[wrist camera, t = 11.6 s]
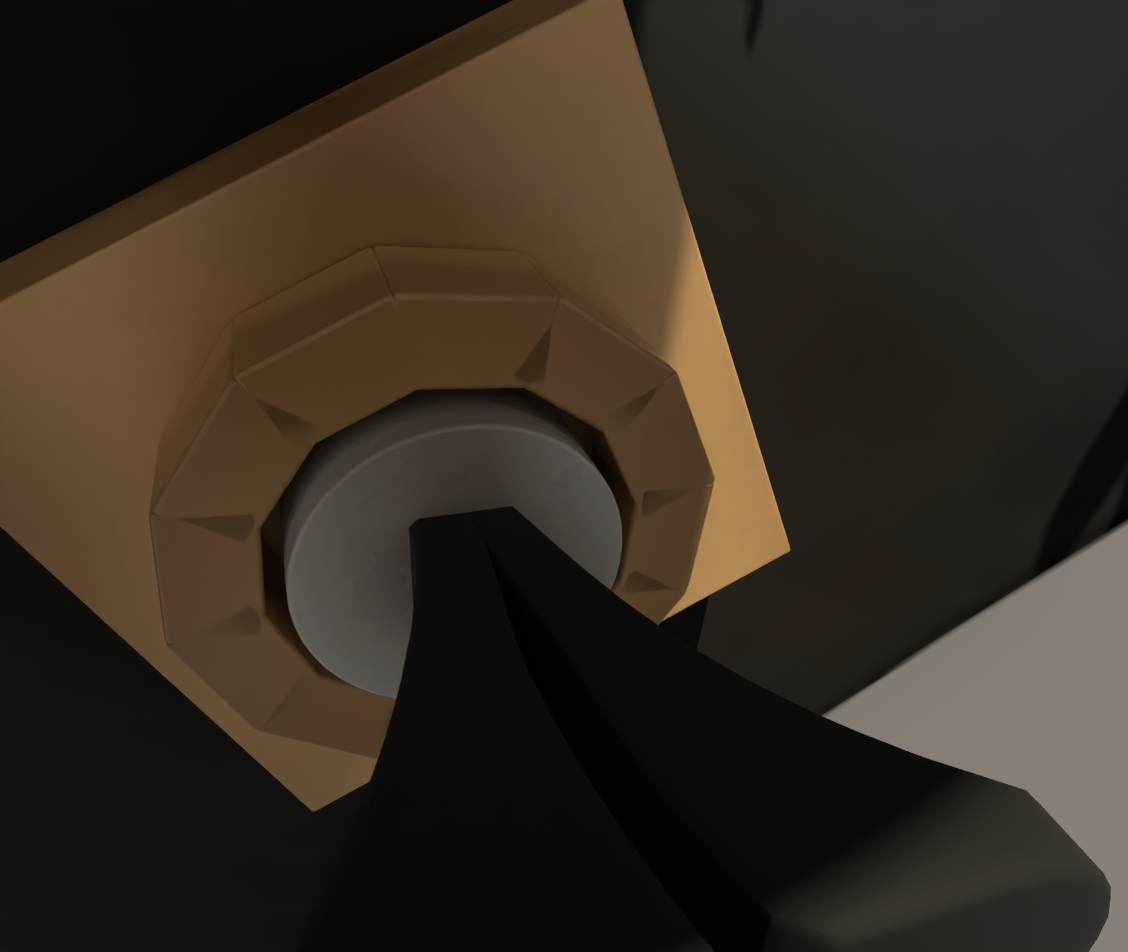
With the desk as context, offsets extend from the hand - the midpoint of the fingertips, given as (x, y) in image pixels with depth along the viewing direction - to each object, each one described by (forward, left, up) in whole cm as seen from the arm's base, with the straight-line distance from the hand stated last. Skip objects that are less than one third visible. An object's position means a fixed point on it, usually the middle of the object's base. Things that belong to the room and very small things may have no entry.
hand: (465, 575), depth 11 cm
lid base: (0, 0, -4) cm, 4 cm away
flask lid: (0, 0, -2) cm, 2 cm away
